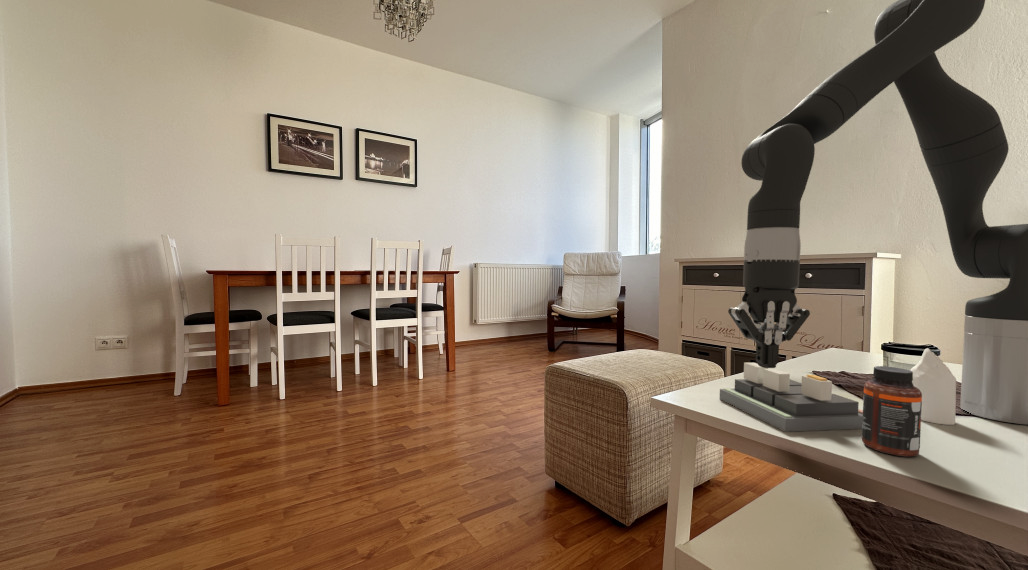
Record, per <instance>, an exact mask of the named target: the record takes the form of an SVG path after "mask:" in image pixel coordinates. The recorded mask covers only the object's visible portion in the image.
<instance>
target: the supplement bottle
mask: <svg viewBox="0 0 1028 570" xmlns="http://www.w3.org/2000/svg"><path fill="white" fill-rule="evenodd" d="M910 370H911V369H907V368H903V367H902V368H901V367H894V366H885V365H884V366H883V365H880V366H879V365H878V366H877V365H876V366H873V374H872V375H873V377H872V378H871V379H870V380H867V381H866V382H865V383H864V386H863V401H862V411H863V423H862V429H861V439H862V440H861V441H862V443H863V444H864V445H866V446H867V447H869V448H870V449H872V450H875V451H878V452H880V453H882V454H883V453H884V454H886V455H892V456H897V457H905V458H909V457H910V458H912V457H915V456H919V454H920V448H921V430H922V429H921V427H922V420H921V408H922V393H921V391H920V390H919V389H918V388H917V387H914V386H913V383H912V380H913V372H912V371H910Z"/></svg>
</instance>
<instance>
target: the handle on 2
mask: <svg viewBox="0 0 1028 570" xmlns="http://www.w3.org/2000/svg"><path fill="white" fill-rule="evenodd" d="M790 376H791V374H790V373H789V372H785V371H782V370H779V369H775V368H768V369H763V386H765V387H768V388H770V389H773V390H776V391H778V392H782V391H789V382H790V380H791V378H790Z"/></svg>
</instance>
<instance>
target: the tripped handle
mask: <svg viewBox="0 0 1028 570" xmlns="http://www.w3.org/2000/svg"><path fill="white" fill-rule="evenodd" d="M801 383H802V387H801V394H804V395H806V396H809V397H812V398H815V399H817V400H831V396H832V394H833V393H832V391H833V381H832V380H828V378H825V377H822V376H819V375H815V374H806V375H801Z"/></svg>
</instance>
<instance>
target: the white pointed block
mask: <svg viewBox="0 0 1028 570" xmlns="http://www.w3.org/2000/svg"><path fill="white" fill-rule="evenodd" d="M909 370H910V371H912V372H913V380H912V383H913V386H914V387H917V388H918V389H919V390H920V391H921V393H922V408H921V421H923V422H927V423H931V424H936V425H937V424H938V425H944V426H945V425H947V426H953V425H956V408H957V407H956V403H957V401H956V400H957V399H956V397H957V379H956V377H955V375H954V374H953V372H952V371H951V370H950V368H949V367H948V366H947V364H946V363H944V361H943V360H942V359H941V358H940V357H939V356H937V355H936V353H934V351H931V349H930V348H928V347H927V348H925V349H924V350H923V353H922V355H921V358H920V359H919V361H918V362H917V363H916V365H914V366H913V367H911V368H910V369H909Z"/></svg>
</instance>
